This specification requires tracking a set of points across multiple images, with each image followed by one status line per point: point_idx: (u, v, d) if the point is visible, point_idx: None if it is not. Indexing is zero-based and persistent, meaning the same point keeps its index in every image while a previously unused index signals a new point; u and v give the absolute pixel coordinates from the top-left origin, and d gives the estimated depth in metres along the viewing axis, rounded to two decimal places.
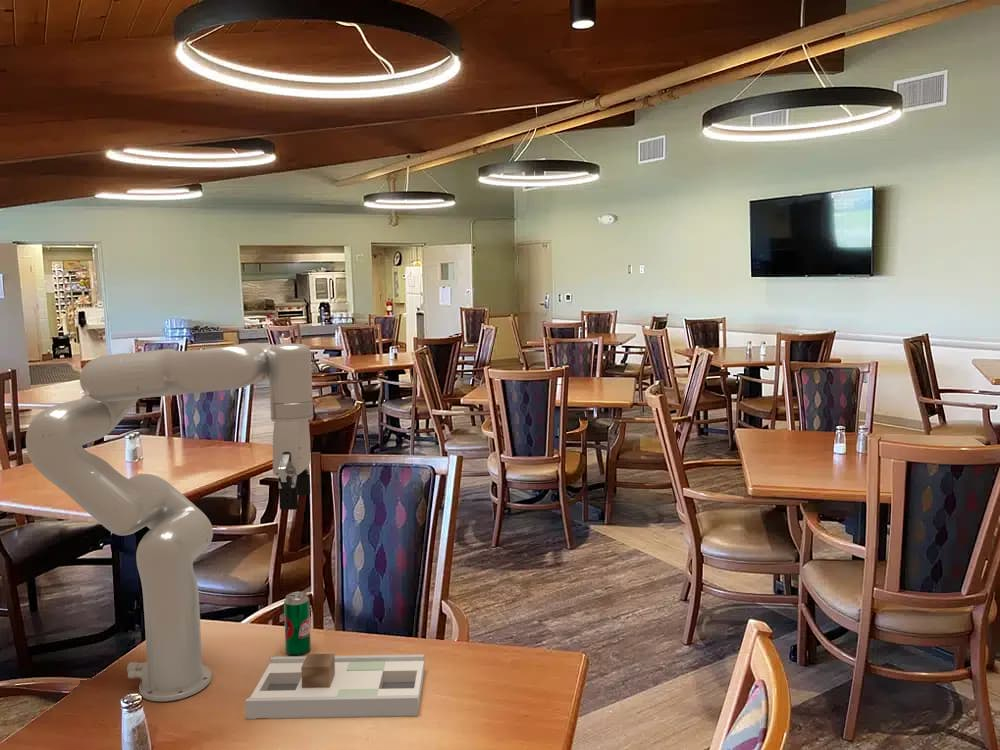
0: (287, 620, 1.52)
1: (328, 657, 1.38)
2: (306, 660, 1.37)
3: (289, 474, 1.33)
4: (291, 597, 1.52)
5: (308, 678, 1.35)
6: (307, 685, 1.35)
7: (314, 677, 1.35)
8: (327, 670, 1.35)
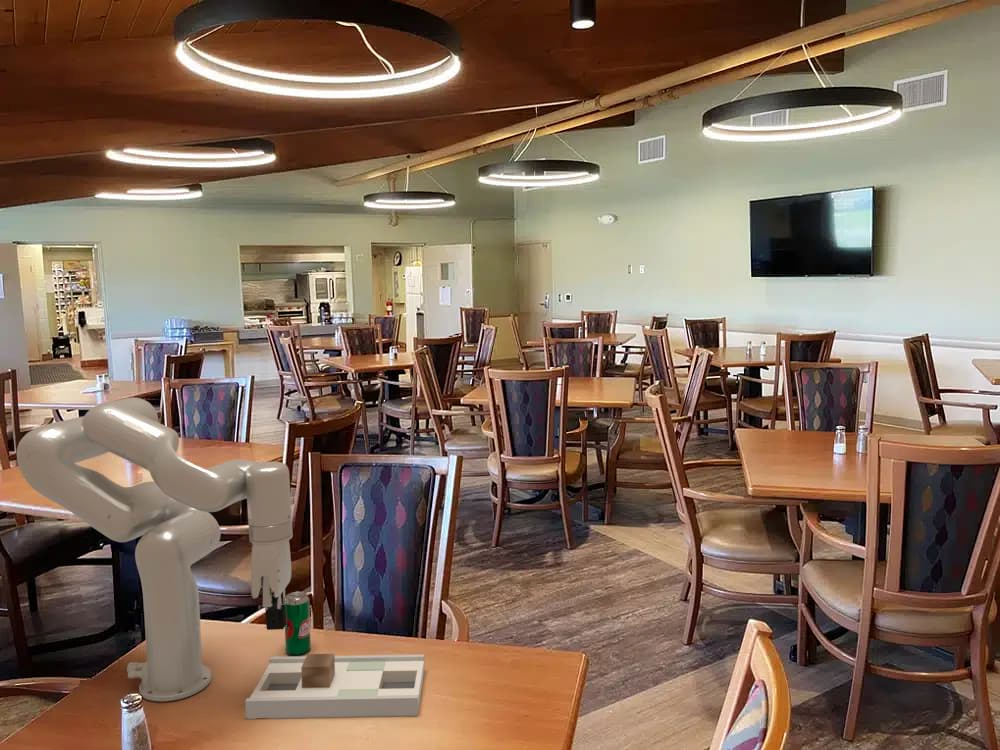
0: (287, 620, 1.52)
1: (328, 657, 1.38)
2: (306, 660, 1.37)
3: None
4: (291, 597, 1.52)
5: (308, 678, 1.35)
6: (307, 685, 1.35)
7: (314, 677, 1.35)
8: (327, 670, 1.35)
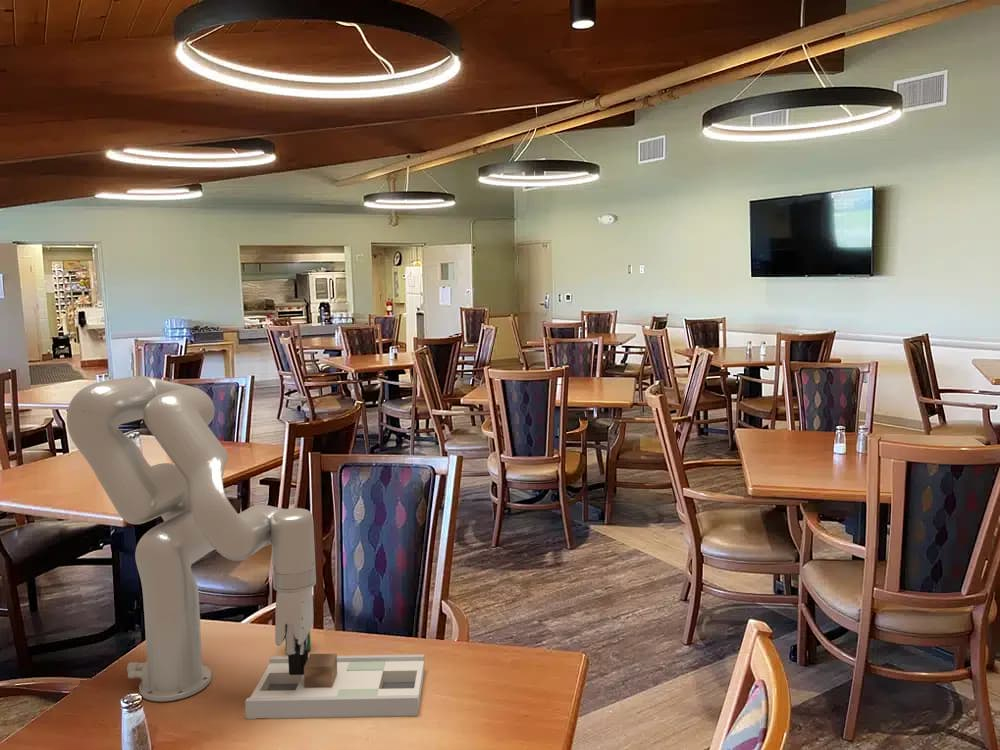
0: None
1: (330, 657, 1.38)
2: (309, 660, 1.37)
3: None
4: None
5: (310, 678, 1.35)
6: (309, 685, 1.35)
7: (317, 677, 1.35)
8: (330, 670, 1.35)
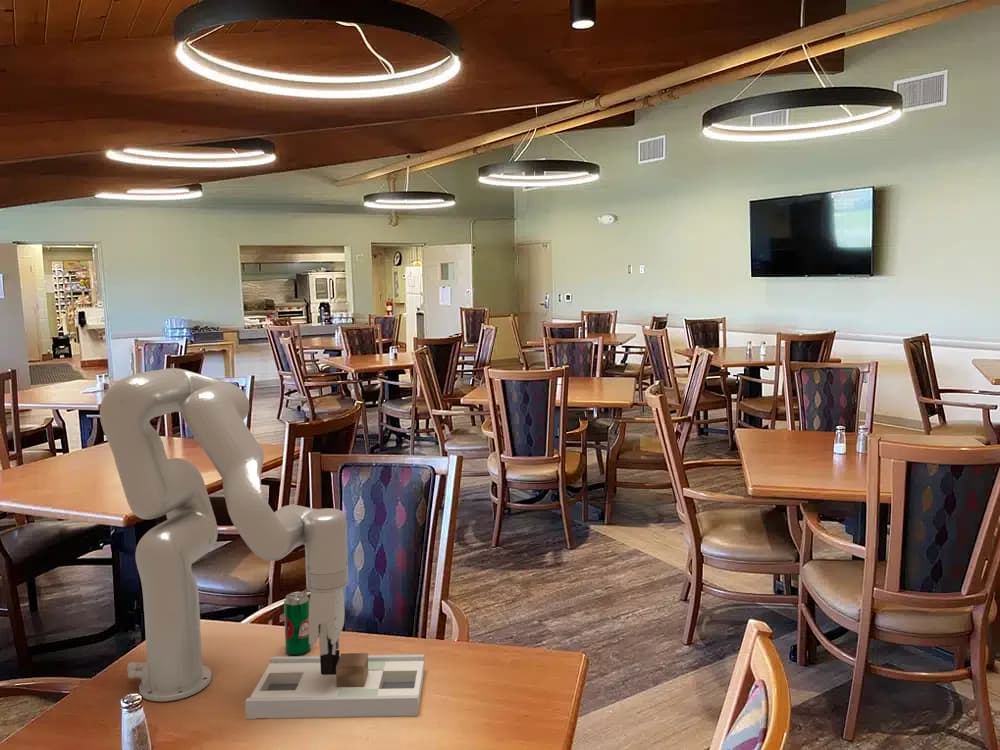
0: (287, 620, 1.52)
1: (362, 656, 1.38)
2: (340, 659, 1.37)
3: None
4: (291, 597, 1.52)
5: (342, 677, 1.35)
6: (342, 684, 1.35)
7: (349, 676, 1.35)
8: (362, 669, 1.35)
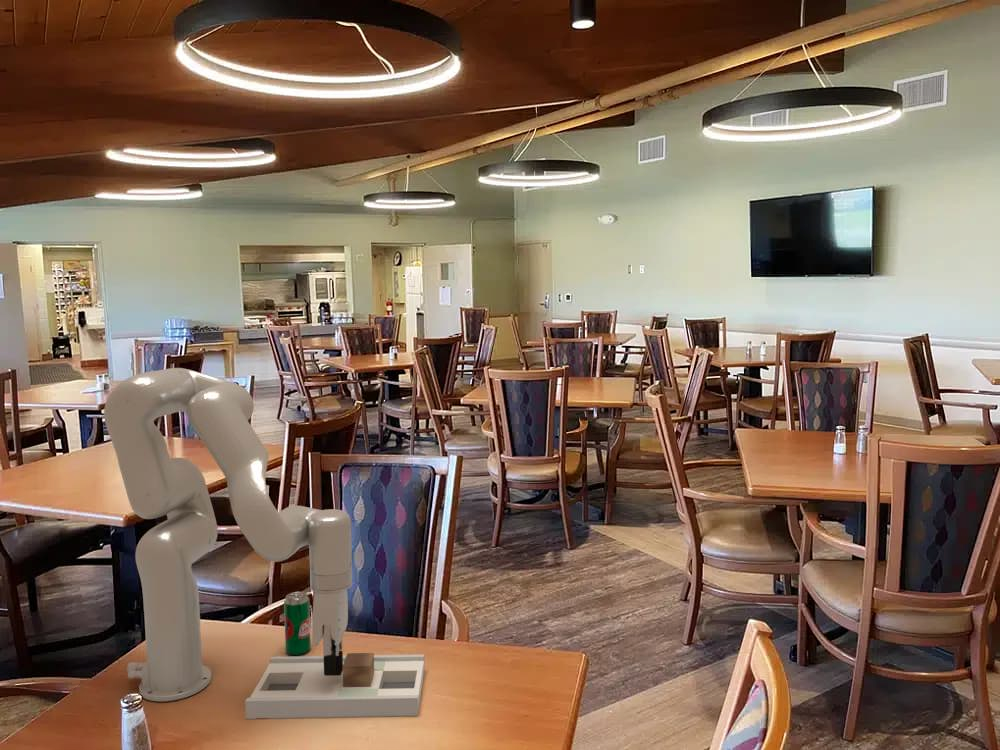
0: (287, 620, 1.52)
1: (368, 656, 1.38)
2: (346, 659, 1.37)
3: (332, 644, 1.35)
4: (291, 597, 1.52)
5: (349, 677, 1.35)
6: (348, 684, 1.35)
7: (355, 676, 1.35)
8: (368, 669, 1.35)
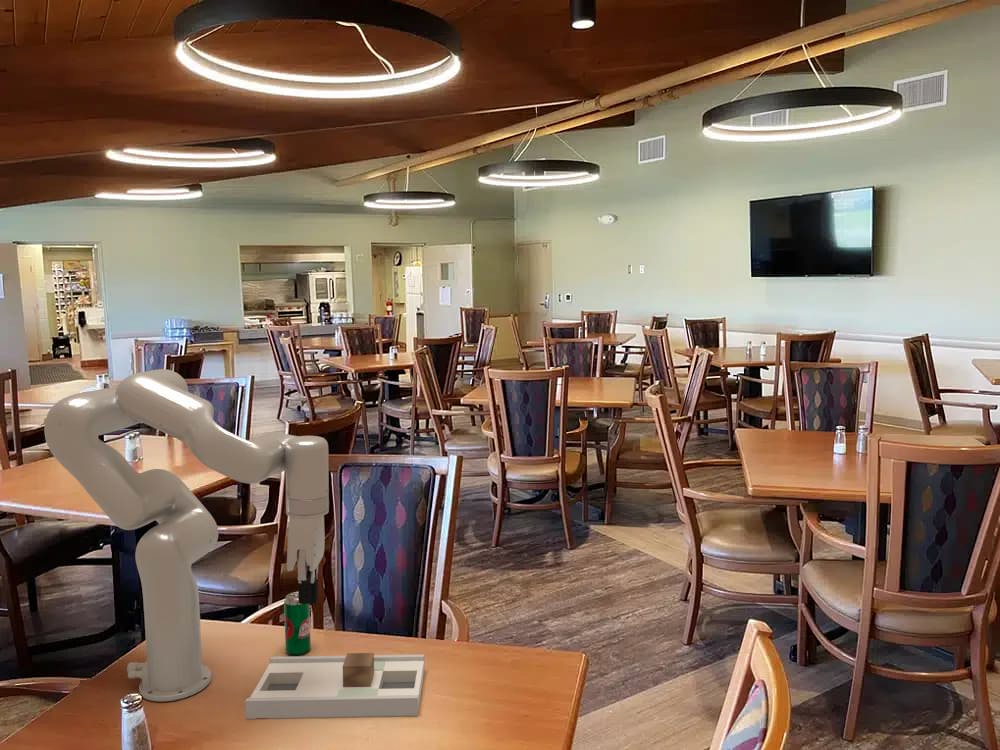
0: (287, 620, 1.52)
1: (368, 656, 1.38)
2: (346, 659, 1.37)
3: None
4: (291, 597, 1.52)
5: (349, 677, 1.35)
6: (348, 684, 1.35)
7: (355, 676, 1.35)
8: (368, 669, 1.35)
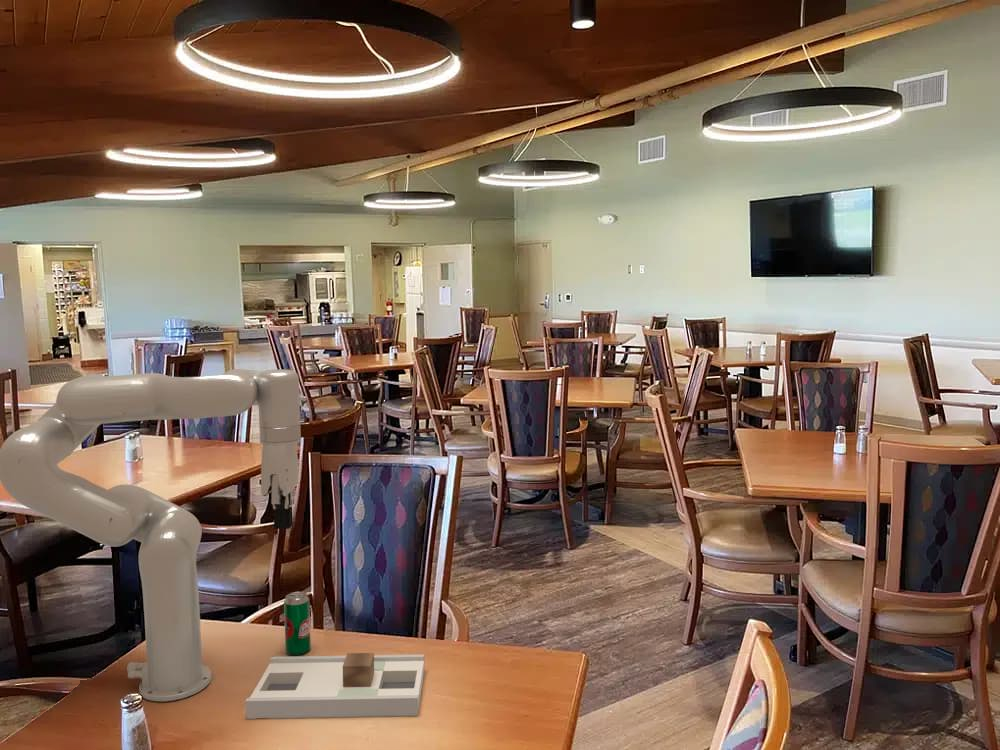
0: (287, 620, 1.52)
1: (368, 656, 1.38)
2: (346, 659, 1.37)
3: None
4: (291, 597, 1.52)
5: (349, 677, 1.35)
6: (348, 684, 1.35)
7: (355, 676, 1.35)
8: (368, 669, 1.35)
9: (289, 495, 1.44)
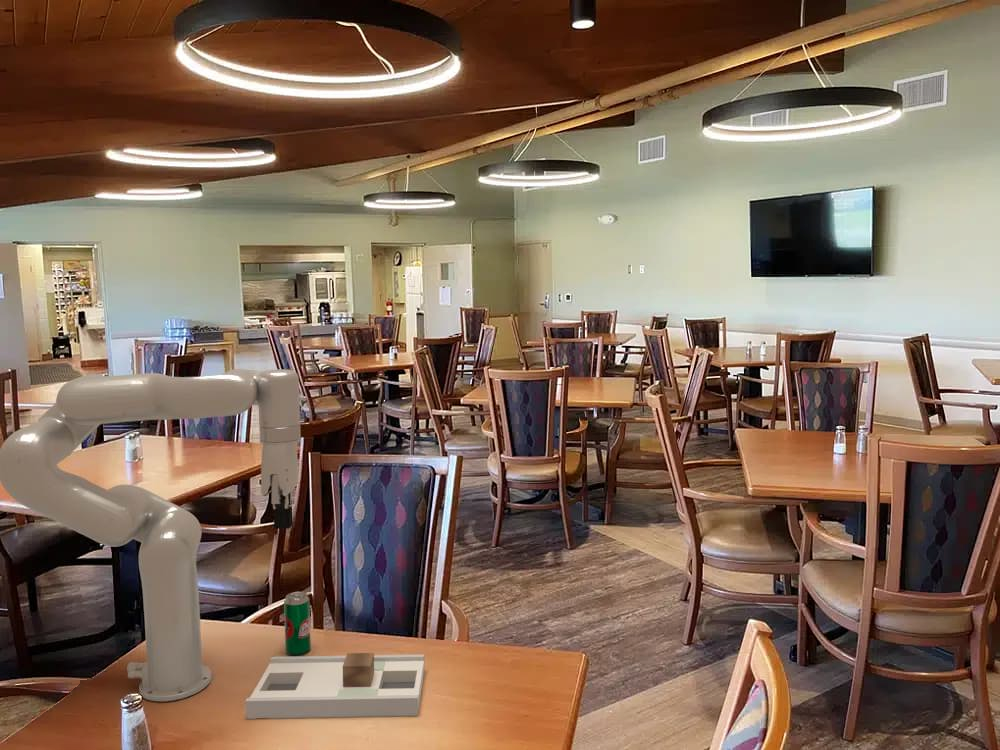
0: (287, 620, 1.52)
1: (368, 656, 1.38)
2: (346, 659, 1.37)
3: (281, 496, 1.41)
4: (291, 597, 1.52)
5: (349, 677, 1.35)
6: (348, 684, 1.35)
7: (355, 676, 1.35)
8: (368, 669, 1.35)
9: (289, 495, 1.44)
